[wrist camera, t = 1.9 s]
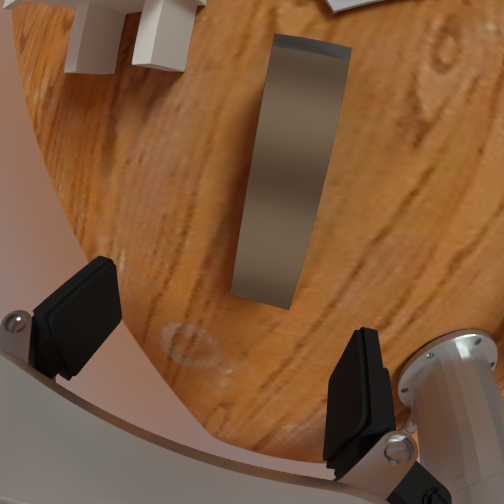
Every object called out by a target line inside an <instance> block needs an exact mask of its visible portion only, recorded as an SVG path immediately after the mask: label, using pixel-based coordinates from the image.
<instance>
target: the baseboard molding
mask: <svg viewBox="0 0 504 504" xmlns="http://www.w3.org/2000/svg"><path fill="white" fill-rule="evenodd" d="M324 1H325V2H326V4H327V5H328V7H329V8H330V10H331V11H332V13H333V14H334V13H338V12H341V11H344V10H348V9H351V8H355V7H359V6H363V5H367V4H371V3H375V2H380V1H385V0H324Z"/></svg>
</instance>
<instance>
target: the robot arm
mask: <svg viewBox="0 0 504 504" xmlns="http://www.w3.org/2000/svg"><path fill="white" fill-rule="evenodd" d="M33 312H34V316H33V317H31V315H30V314H29V313H28V312H26V311H23V310H17V311H13V312H11V313H9V314H8V315H7V316H5V318H4V319H3V320H2V323H1V326H0V504H504V399H503V396H502V393H501V391H500V388H499V386H498V383H497V380H496V378H495V375H494V373H493V371H494V369H495V367H496V364H497V361H498V349H497V346H496V344H495V342H494V340H493V339H492V337H491V336H490V335H489V334H487V333H485V332H483V331H480V330H471V329H468V330H461V331H456V332H453V333H450V334H447V335H445V336H442V337H440V338H438V339H436V340H434V341H433V342H431V343H429V344H427V345H426V346H425V347H423V348H422V349H421V350H419V351H418V352H417V353H416V354H415V355H414V356H413V357H412V358H410V360H409V361H408V362H407V363H406V365H405V366H404V367H403V369H402V371H401V373H400V375H399V378H398V381H397V390H398V396H399V398H400V400H401V402H402V403H403V404H404V405H405V406H407V407H409V408H410V409H411V414H410V415H409V417H408V421H407V422H405V423H404V424H403V425H402V426H401V427H400V428H399V429H398V431H396V426H395V416H394V407H393V398H392V390H391V383H390V376H389V371H388V369H387V368H383V363H382V357H381V350H380V344H379V338H378V332H377V330H374V329H370V328H365V327H361V328H360V330H355V331H354V333H353V335H352V337H351V339H350V341H349V343H348V345H347V347H346V349H345V350H344V352H343V354H342V356H341V358H340V360H339V362H338V364H337V365H336V367H335V369H334V371H333V373H332V375H331V377H330V379H329V384H328V400H327V415H326V428H325V439H324V450H323V460H324V461H327V465H326V468H329V469H335V472H334V475H335V476H336V478H335V479H333V480H332V481H331V480H326V479H320V478H314V477H309V476H302V475H296V474H291V473H285V472H280V471H275V470H271V469H266V468H262V467H257V466H253V465H249V464H245V463H240V462H237V461H233V460H229V459H226V458H222V457H219V456H215V455H212V454H209V453H205V452H202V451H199V450H196V449H193V448H191V447H188V446H185V445H182V444H179V443H177V442H174V441H171V440H169V439H166V438H164V437H161V436H159V435H156V434H153V433H151V432H149V431H146V430H144V429H142V428H140V427H137V426H135V425H133V424H131V423H129V422H126V421H124V420H122V419H120V418H118V417H116V416H114V415H112V414H110V413H108V412H106V411H104V410H102V409H100V408H99V407H97V406H95V405H93V404H91V403H89V402H88V401H86V400H84V399H82V398H81V397H79V396H77V395H75V394H74V393H72V392H70V391H68V390H67V389H65V388H64V387H62V386H61V385H59V384H57V383H56V375H57V374H58V373H59V375H60V376H62V377H63V378H65V379H67V380H68V381H69V380H70V379H71V378H72V376H76V375H77V374H78V373H79V372H80V371H81V369H82V368H83V367H84V365H85V364H86V363H87V362H88V361H89V359H90V358H91V357H92V356H93V354H94V353H95V352H96V351H97V349H98V348H99V347H100V346H101V345H102V343H103V342H104V341H105V340H106V338H107V337H108V336H109V335H110V334H111V333H112V331H113V330H114V329H115V328H116V327H117V325H118V324H119V323H120V321H121V319H122V312H121V305H120V297H119V289H118V280H117V271H116V265H115V264H114V263H113V260H111V259H109V258H106V257H103V256H98V257H96V258H95V259H94V260H93V261H91V262H90V263H89V264H88V265H86V266H85V267H84V268H82V269H81V270H80V271H79V272H78V273H76V274H75V275H74V276H73V277H72V278H70V279H69V280H68V281H67V282H65V283H64V284H63V285H62V286H60V287H59V288H58V289H57V290H56V291H55V292H53V293H52V294H51V295H50V296H49V297H48V298H46V299H45V300H44V301H43V302H42V303H41V304H40V305H39V306H37V307H36V308H35V309H34V310H33ZM416 430H417V435H418V444H419V454H420V463H418V462H417V461H416V459H417V457H418V447H417V444H416V442H415V440H414V439H413V438H412V437H411V435H412V434H414V433H415V431H416Z"/></svg>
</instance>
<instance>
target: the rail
mask: <svg viewBox="0 0 504 504" xmlns="http://www.w3.org/2000/svg"><path fill="white" fill-rule="evenodd" d="M351 49H352V48H350V47H346V46H342V45H338V44H333V43H329V42H324V41H319V40H314V39H308V38H302V37H296V36H289V35H282V34H274V38H273V44H272V49H271V54H270V60H269V65H268V70H267V76H266V81H265V87H264V92H263V98H262V104H261V109H260V115H259V121H258V126H257V132H256V138H255V144H254V149H253V155H252V161H251V167H250V173H249V179H248V185H247V191H246V197H245V203H244V209H243V216H242V222H241V228H240V234H239V241H238V247H237V253H236V260H235V266H234V272H233V279H232V286H231V292H230V294H232V295H236V296H239V297H243V298H246V299H250V300H253V301H257V302H261V303H264V304H268V305H272V306H276V307H279V308H283V309H287V310H290V306H291V303H292V300H293V296H294V293H295V289H296V286H297V283H298V279H299V276H300V272H301V269H302V265H303V262H304V258H305V254H306V251H307V247H308V244H309V240H310V236H311V232H312V229H313V225H314V221H315V217H316V213H317V209H318V205H319V201H320V197H321V193H322V189H323V185H324V181H325V177H326V173H327V168H328V164H329V160H330V155H331V151H332V147H333V142H334V137H335V133H336V128H337V123H338V119H339V114H340V109H341V104H342V99H343V94H344V89H345V83H346V78H347V72H348V67H349V61H350V55H351Z"/></svg>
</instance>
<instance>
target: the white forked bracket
mask: <svg viewBox="0 0 504 504" xmlns="http://www.w3.org/2000/svg"><path fill="white" fill-rule="evenodd" d="M24 1H30V2H37V3H44V4H50V5H56V6H61V7H66V8H71V9H75V10H76V13H75V17H74V21H73V25H72V30H71V35H70V39H69V45H68V50H67V56H66V62H65V69H64V73H85V74H114V73H115V69H116V63H117V57H118V51H119V45H120V40H121V35H122V30H123V26H124V21H125V17H126V14H130V13H136V12H142V15H141V19H140V24H139V28H138V33H137V38H136V43H135V49H134V54H133V60H132V65H138V66H144V67H149V68H154V69H159V70H164V71H177V72H185V66H186V61H187V55H188V50H189V44H190V39H191V34H192V29H193V24H194V20H195V15H196V11H197V6H206V3H207V0H5V3H4V6H3V9H13V8H14V7H16V6H17V5H19V4H21V3H22V2H24Z"/></svg>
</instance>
